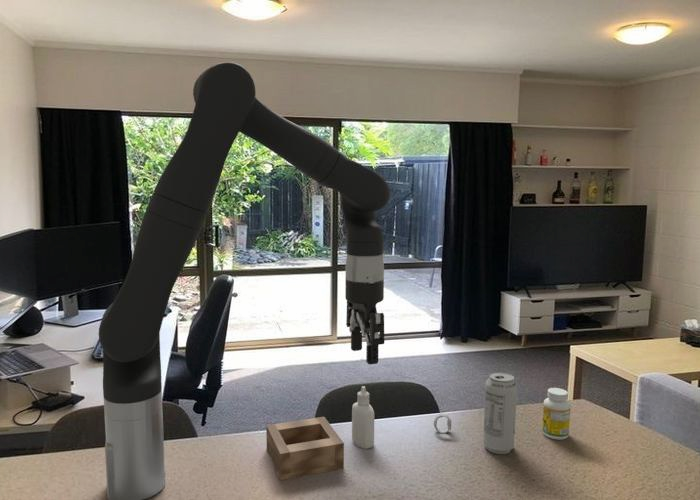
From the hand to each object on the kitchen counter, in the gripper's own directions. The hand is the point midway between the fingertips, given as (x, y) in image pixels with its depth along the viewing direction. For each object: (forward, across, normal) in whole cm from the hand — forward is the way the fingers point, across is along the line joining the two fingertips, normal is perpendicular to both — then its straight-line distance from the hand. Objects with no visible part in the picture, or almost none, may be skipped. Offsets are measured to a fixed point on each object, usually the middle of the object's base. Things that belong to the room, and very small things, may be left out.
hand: (364, 356), depth 111 cm
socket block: (+18, +2, -13) cm, 23 cm away
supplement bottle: (+19, +10, +40) cm, 45 cm away
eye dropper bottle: (+18, 0, 0) cm, 19 cm away
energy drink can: (+19, +11, +25) cm, 33 cm away
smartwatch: (+19, +1, +18) cm, 26 cm away
